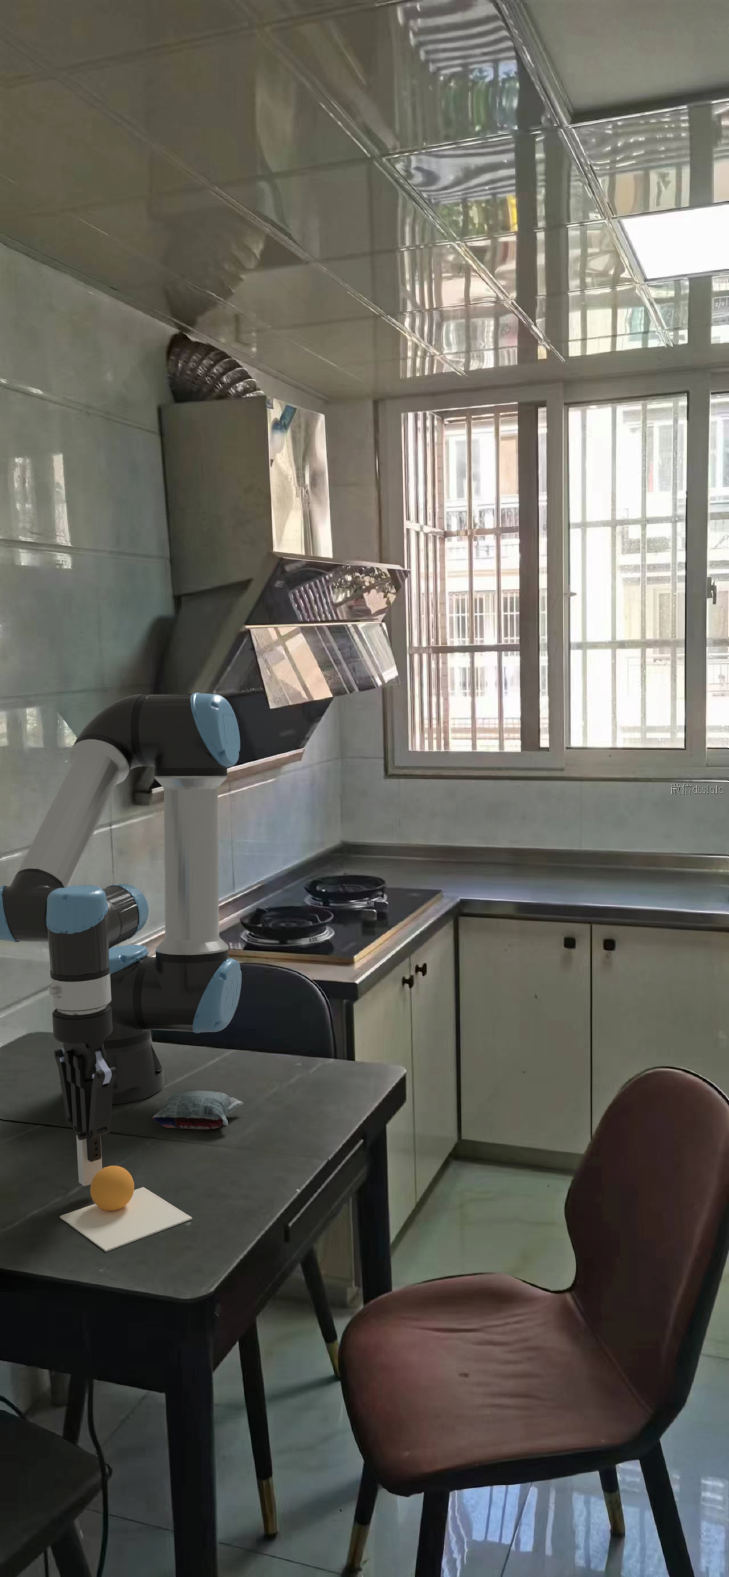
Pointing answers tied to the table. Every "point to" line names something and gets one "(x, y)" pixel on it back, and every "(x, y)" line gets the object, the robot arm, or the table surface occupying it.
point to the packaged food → (196, 1110)
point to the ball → (112, 1188)
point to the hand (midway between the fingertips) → (90, 1181)
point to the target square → (126, 1220)
